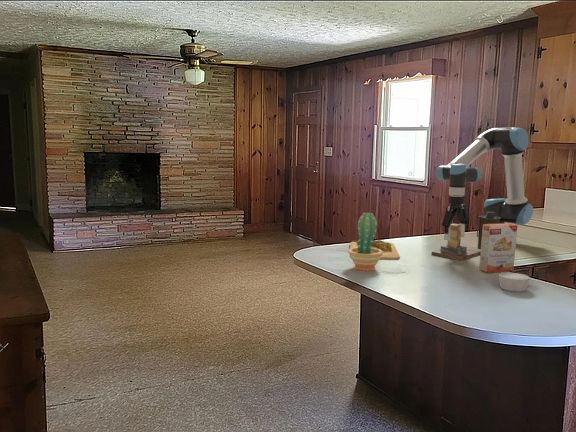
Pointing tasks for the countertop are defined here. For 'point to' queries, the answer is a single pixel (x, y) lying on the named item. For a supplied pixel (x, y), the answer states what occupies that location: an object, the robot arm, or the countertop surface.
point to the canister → (486, 220)
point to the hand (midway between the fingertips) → (454, 238)
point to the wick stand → (457, 252)
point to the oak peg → (454, 236)
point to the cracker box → (498, 247)
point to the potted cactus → (366, 244)
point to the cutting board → (386, 247)
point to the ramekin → (513, 281)
